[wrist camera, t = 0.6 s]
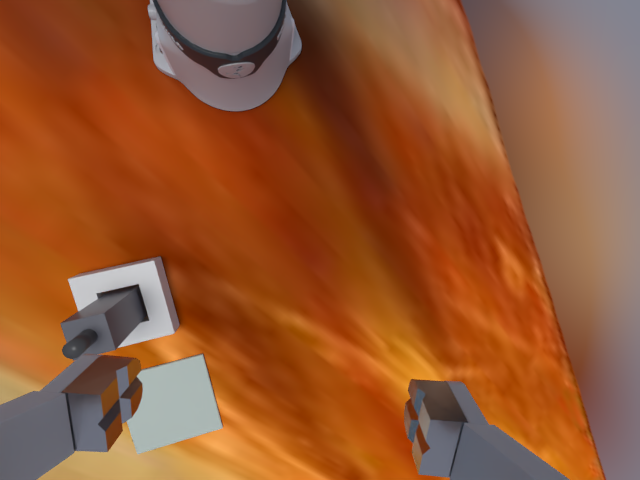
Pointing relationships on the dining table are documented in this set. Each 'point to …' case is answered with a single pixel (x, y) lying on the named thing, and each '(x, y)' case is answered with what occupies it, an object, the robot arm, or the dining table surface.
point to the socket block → (152, 289)
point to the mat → (174, 404)
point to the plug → (104, 322)
